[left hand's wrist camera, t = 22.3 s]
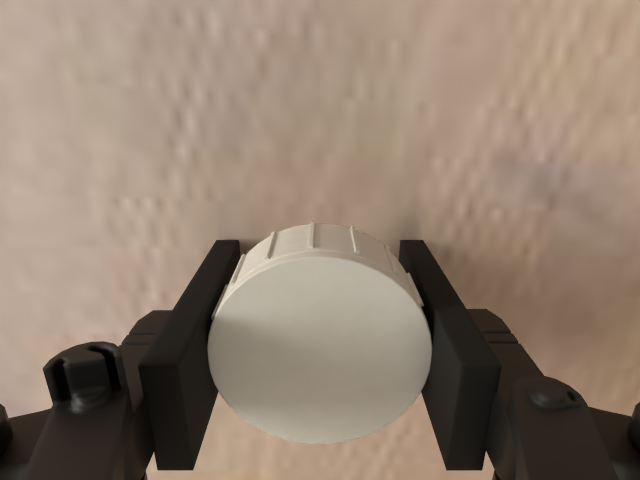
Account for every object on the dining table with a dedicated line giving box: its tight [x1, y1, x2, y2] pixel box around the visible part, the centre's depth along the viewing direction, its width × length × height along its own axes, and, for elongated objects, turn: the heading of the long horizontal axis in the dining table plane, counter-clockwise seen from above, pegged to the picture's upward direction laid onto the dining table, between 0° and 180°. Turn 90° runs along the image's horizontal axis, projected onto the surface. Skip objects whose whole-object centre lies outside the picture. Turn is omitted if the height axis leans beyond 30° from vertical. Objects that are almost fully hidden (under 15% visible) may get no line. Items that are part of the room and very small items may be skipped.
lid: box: [207, 222, 432, 444], centre depth 11 cm, size 6×6×2 cm
